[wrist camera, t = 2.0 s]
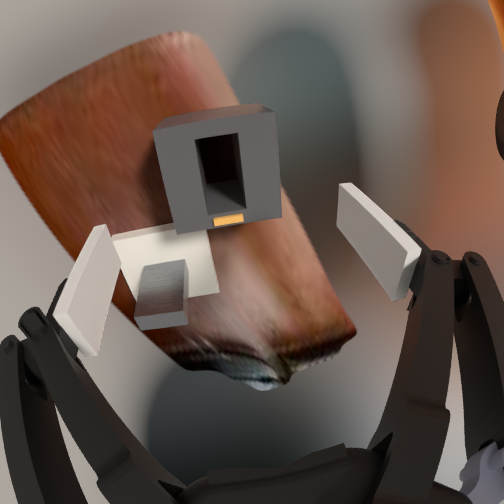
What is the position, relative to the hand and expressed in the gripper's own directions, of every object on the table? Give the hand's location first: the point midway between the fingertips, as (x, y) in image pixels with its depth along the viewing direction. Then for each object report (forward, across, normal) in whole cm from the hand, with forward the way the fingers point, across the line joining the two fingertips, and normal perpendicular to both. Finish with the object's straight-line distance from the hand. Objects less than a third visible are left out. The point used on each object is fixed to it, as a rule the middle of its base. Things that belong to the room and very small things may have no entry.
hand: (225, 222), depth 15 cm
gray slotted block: (+14, 0, 0) cm, 14 cm away
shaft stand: (+14, +8, +12) cm, 20 cm away
